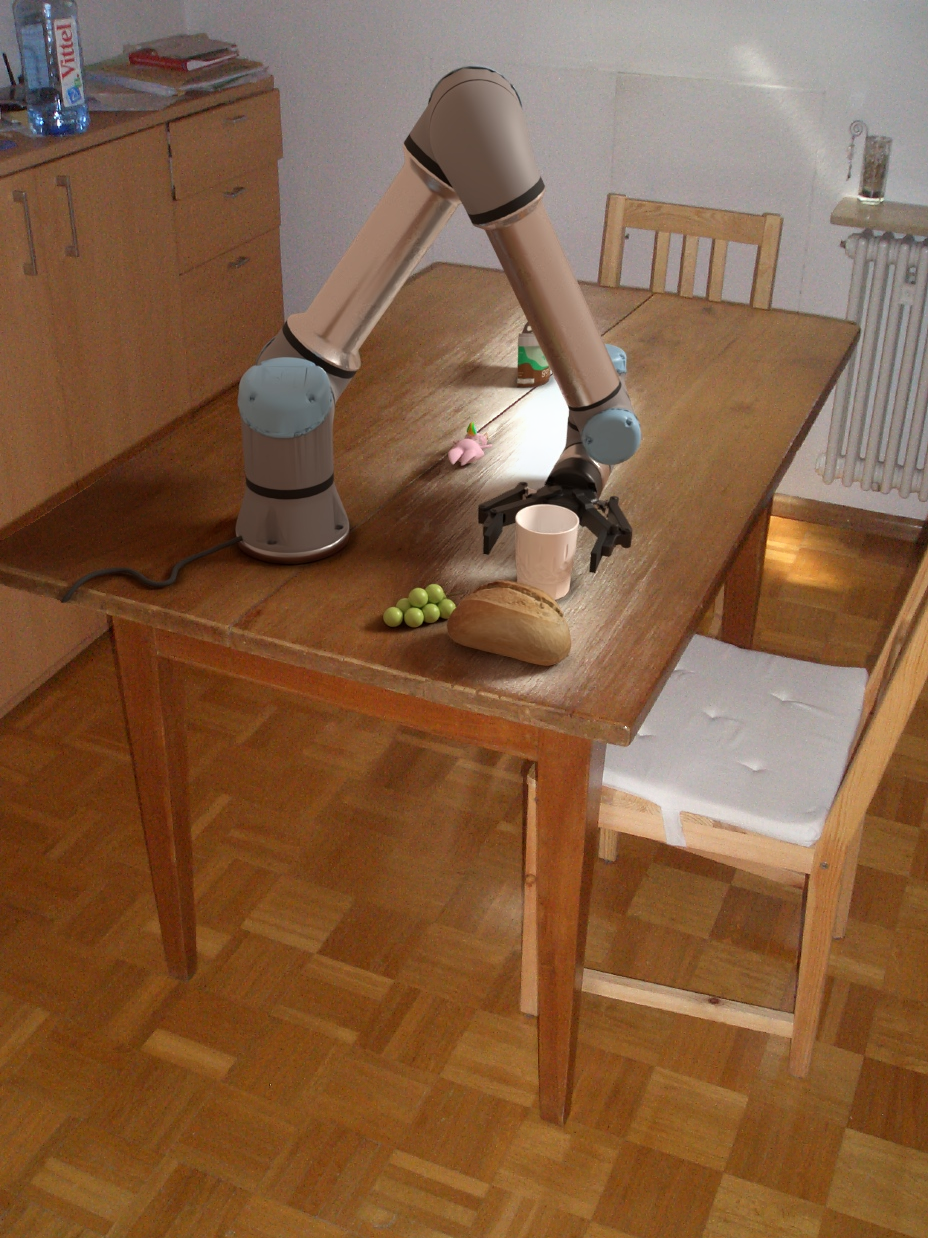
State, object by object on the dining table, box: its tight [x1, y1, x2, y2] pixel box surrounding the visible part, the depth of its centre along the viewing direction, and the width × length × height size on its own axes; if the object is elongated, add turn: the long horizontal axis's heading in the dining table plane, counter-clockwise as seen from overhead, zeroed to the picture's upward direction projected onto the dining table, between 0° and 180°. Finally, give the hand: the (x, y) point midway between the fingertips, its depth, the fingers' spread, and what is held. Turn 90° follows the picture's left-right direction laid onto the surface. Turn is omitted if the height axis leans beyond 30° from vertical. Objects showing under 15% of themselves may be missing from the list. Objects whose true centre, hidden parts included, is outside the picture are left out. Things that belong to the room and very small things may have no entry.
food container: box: [516, 321, 552, 389], centre depth 220 cm, size 12×6×10 cm, turn 168°
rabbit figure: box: [447, 421, 493, 466], centre depth 192 cm, size 6×6×15 cm
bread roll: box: [446, 580, 572, 667], centre depth 148 cm, size 10×15×8 cm, turn 73°
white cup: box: [514, 505, 580, 601], centre depth 159 cm, size 8×8×10 cm
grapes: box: [382, 583, 466, 628], centre depth 155 cm, size 11×5×4 cm, turn 118°
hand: (538, 554), depth 156 cm, fingers open, 13 cm apart
